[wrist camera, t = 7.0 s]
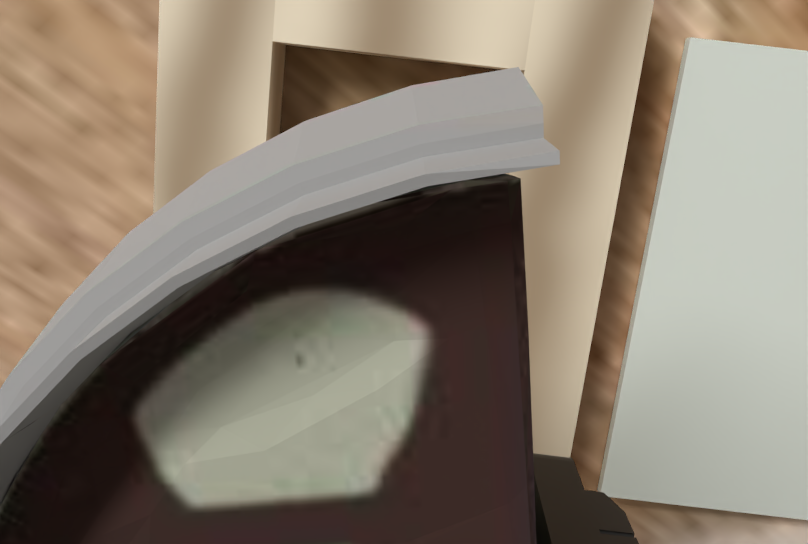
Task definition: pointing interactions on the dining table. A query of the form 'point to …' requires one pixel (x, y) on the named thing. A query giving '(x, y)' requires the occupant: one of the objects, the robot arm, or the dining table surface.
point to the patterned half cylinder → (301, 345)
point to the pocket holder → (452, 44)
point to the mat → (722, 296)
